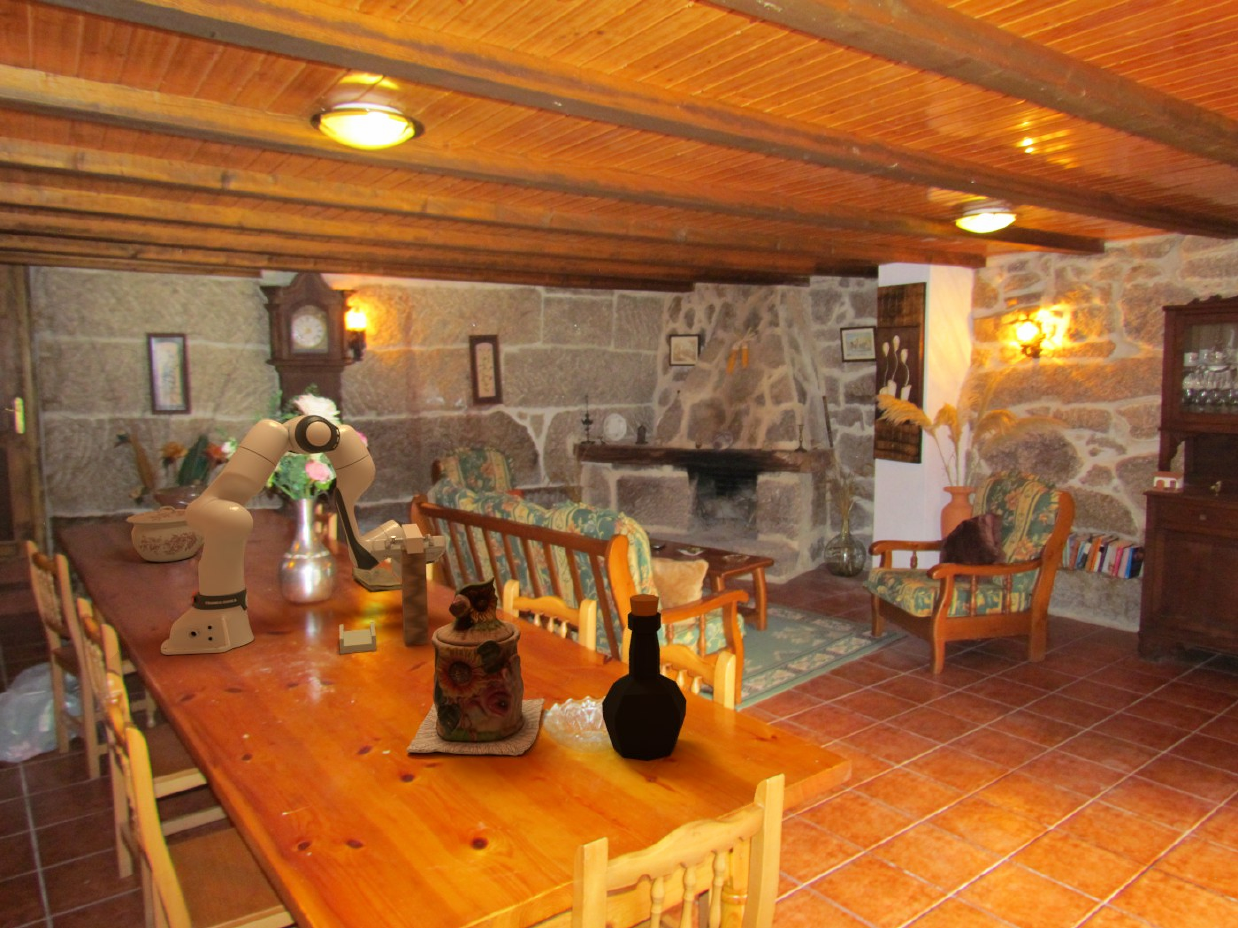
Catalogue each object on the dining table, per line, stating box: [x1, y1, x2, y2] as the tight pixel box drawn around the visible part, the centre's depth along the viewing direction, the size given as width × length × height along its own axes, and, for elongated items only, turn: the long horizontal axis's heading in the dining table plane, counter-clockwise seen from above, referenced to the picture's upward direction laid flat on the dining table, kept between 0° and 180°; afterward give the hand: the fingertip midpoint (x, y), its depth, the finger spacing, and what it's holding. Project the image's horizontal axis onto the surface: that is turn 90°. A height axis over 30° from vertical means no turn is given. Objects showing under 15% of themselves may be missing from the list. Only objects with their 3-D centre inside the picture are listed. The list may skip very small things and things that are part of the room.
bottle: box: [601, 593, 687, 762], centre depth 167 cm, size 16×16×30 cm
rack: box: [339, 621, 377, 655], centre depth 231 cm, size 9×13×4 cm
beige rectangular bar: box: [402, 523, 424, 554], centre depth 232 cm, size 4×20×4 cm, turn 18°
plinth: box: [400, 544, 430, 647], centre depth 232 cm, size 6×7×26 cm
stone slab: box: [351, 566, 402, 593], centre depth 298 cm, size 12×4×30 cm
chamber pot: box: [125, 505, 204, 564], centre depth 333 cm, size 28×28×21 cm
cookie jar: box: [406, 575, 546, 757], centre depth 175 cm, size 25×25×32 cm
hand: (410, 537), depth 238 cm, fingers open, 8 cm apart
